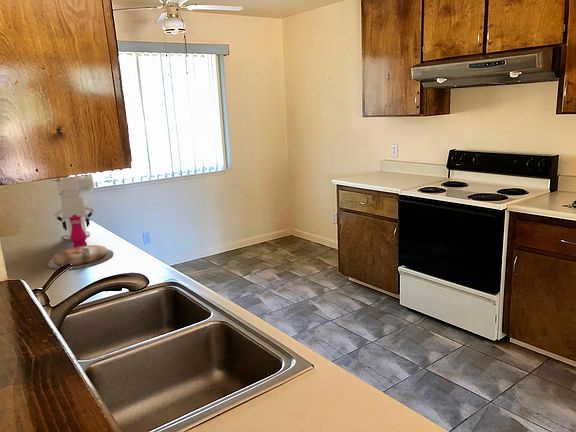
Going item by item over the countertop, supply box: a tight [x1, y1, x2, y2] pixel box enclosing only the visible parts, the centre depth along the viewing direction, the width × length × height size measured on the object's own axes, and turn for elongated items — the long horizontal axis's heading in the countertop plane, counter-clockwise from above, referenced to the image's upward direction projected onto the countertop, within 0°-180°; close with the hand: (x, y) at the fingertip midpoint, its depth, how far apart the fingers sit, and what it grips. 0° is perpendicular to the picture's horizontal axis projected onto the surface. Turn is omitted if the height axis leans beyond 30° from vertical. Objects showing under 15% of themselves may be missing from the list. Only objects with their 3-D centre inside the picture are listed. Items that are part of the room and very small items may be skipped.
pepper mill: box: [69, 215, 88, 248], centre depth 223 cm, size 7×7×20 cm
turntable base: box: [47, 248, 114, 270], centre depth 206 cm, size 27×27×1 cm
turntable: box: [52, 244, 108, 266], centre depth 205 cm, size 22×22×6 cm
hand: (76, 228), depth 223 cm, fingers open, 9 cm apart
